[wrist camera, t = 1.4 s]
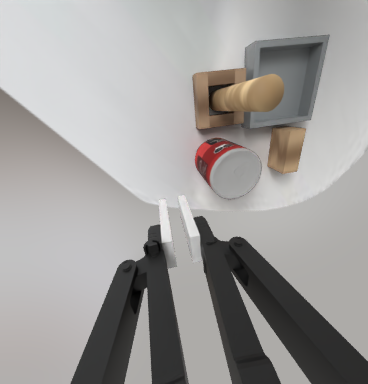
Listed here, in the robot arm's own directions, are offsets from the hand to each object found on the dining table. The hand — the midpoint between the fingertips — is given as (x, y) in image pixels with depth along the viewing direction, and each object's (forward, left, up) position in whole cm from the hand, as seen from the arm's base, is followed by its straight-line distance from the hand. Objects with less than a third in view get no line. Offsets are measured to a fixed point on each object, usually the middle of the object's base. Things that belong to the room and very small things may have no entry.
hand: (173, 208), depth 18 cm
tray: (-11, +22, -16) cm, 30 cm away
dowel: (-10, +11, -16) cm, 22 cm away
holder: (-10, +11, -16) cm, 22 cm away
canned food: (0, +10, -17) cm, 19 cm away
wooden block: (0, +24, -16) cm, 29 cm away
